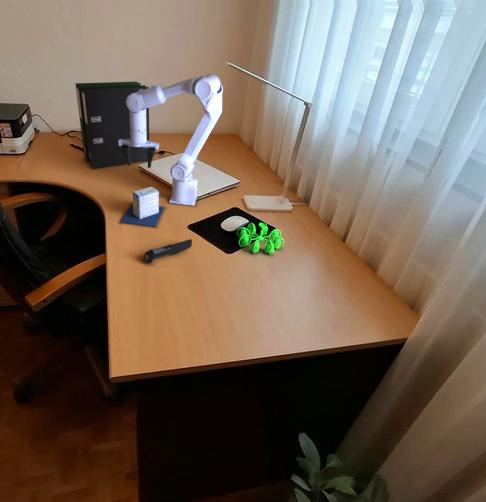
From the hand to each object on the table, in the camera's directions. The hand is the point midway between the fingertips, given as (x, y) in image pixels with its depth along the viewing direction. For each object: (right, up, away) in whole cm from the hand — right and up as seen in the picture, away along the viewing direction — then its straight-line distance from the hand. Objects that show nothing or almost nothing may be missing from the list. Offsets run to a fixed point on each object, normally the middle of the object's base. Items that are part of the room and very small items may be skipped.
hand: (139, 166), depth 130 cm
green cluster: (+41, -30, -21) cm, 54 cm away
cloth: (+3, -19, -9) cm, 22 cm away
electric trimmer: (+12, -33, -28) cm, 45 cm away
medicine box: (+4, -19, -9) cm, 21 cm away
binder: (-15, +11, +32) cm, 37 cm away
